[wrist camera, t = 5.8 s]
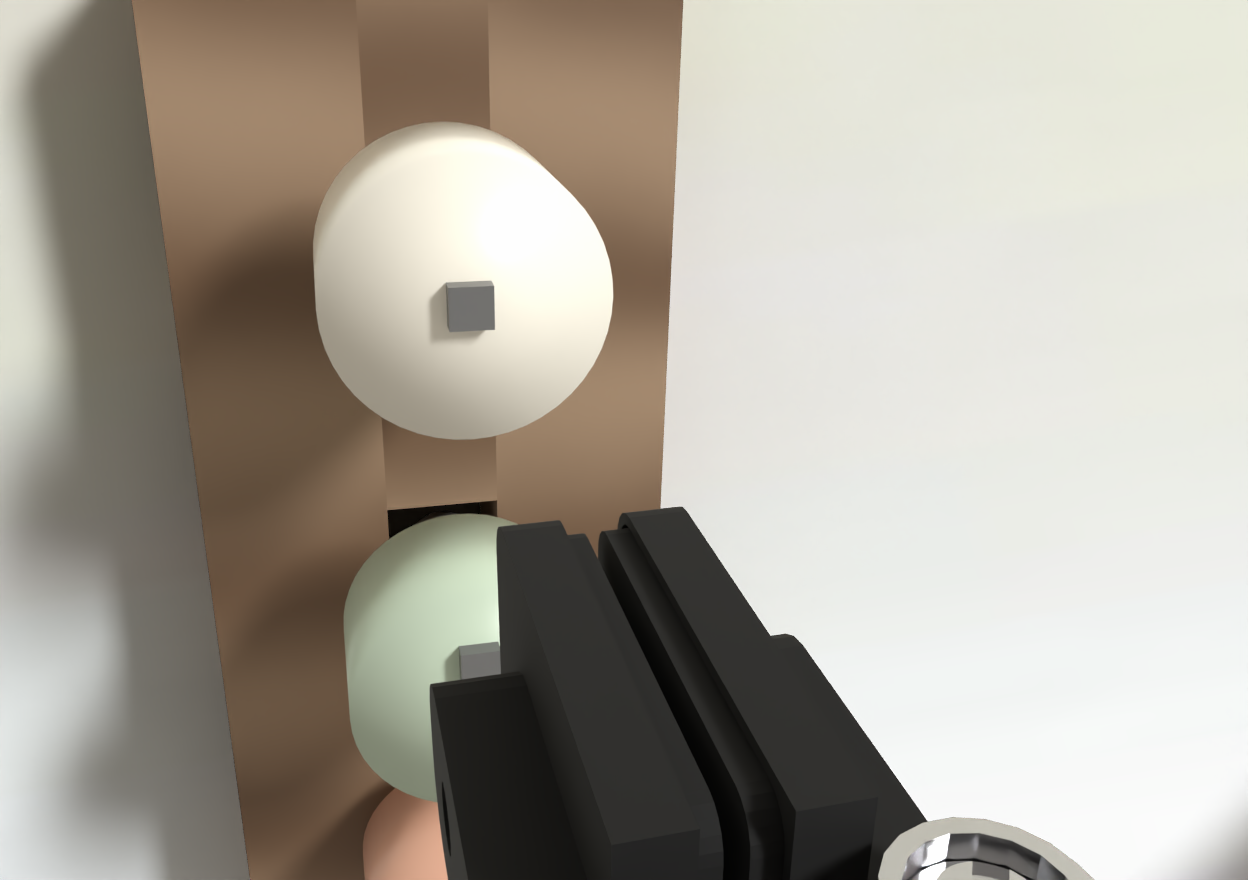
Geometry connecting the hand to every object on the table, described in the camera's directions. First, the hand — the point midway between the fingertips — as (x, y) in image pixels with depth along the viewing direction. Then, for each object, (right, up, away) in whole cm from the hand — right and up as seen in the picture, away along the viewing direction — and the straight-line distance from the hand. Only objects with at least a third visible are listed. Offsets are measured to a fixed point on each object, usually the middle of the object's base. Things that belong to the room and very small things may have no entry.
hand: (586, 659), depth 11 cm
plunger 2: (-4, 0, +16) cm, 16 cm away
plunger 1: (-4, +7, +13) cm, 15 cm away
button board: (-4, +1, +18) cm, 19 cm away
